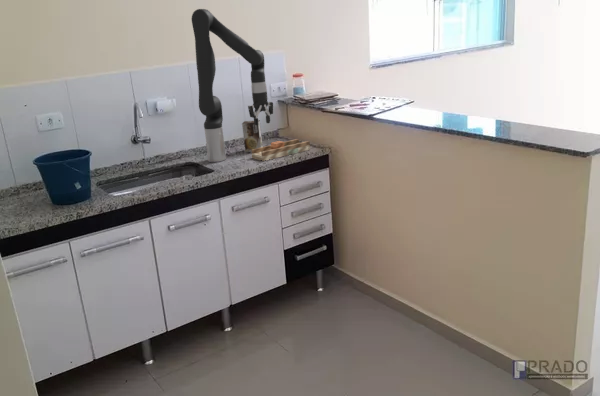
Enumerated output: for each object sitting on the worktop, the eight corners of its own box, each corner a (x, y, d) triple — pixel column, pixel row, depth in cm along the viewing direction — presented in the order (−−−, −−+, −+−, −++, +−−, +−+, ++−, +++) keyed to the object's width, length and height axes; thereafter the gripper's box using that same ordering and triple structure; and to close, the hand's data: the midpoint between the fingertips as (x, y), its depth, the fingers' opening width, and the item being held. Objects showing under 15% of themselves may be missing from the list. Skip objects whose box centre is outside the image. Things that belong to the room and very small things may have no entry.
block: (276, 151, 286) (276, 143, 285) (271, 150, 290) (270, 142, 289) (284, 149, 289) (284, 142, 288) (279, 148, 293) (278, 140, 292)
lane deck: (263, 161, 279) (262, 152, 278) (252, 157, 288) (251, 149, 286) (310, 149, 296) (309, 141, 294) (298, 146, 304) (297, 138, 303)
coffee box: (263, 148, 307) (260, 119, 302) (261, 151, 301) (258, 122, 296) (247, 149, 308) (244, 120, 303) (244, 152, 302) (241, 123, 297)
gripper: (251, 93, 269) (254, 127, 274) (275, 89, 277) (278, 122, 282) (243, 92, 274) (246, 125, 280) (267, 88, 282) (270, 121, 288)
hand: (262, 124), depth 281 cm, fingers open, 6 cm apart
